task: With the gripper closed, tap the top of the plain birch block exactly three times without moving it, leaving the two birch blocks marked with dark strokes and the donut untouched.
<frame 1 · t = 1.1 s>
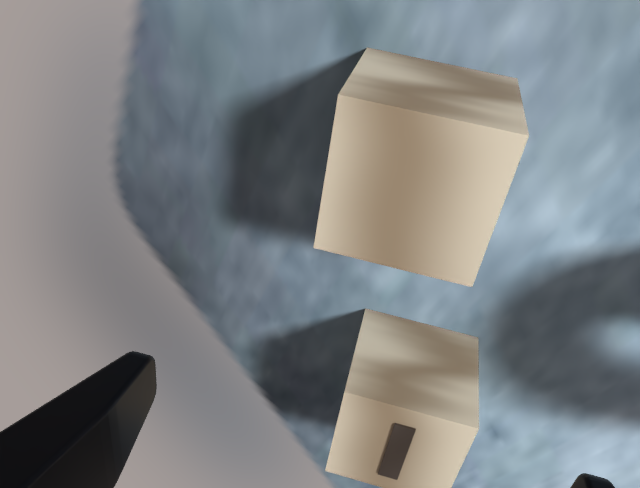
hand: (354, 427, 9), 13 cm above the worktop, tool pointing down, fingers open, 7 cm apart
one stroke block: (408, 361, 26), on the worktop
plain block: (423, 132, 20), on the worktop
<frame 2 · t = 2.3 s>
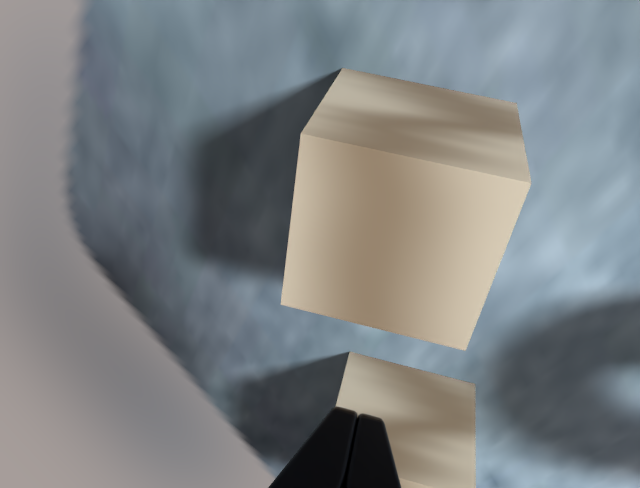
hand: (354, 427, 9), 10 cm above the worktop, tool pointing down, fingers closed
one stroke block: (398, 407, 24), on the worktop
plain block: (409, 162, 18), on the worktop
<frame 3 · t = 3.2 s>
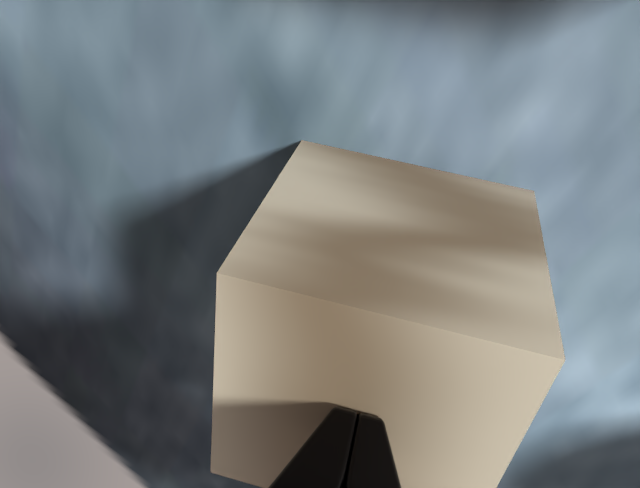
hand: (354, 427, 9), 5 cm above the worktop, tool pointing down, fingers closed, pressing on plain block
plain block: (391, 258, 13), on the worktop, touching gripper
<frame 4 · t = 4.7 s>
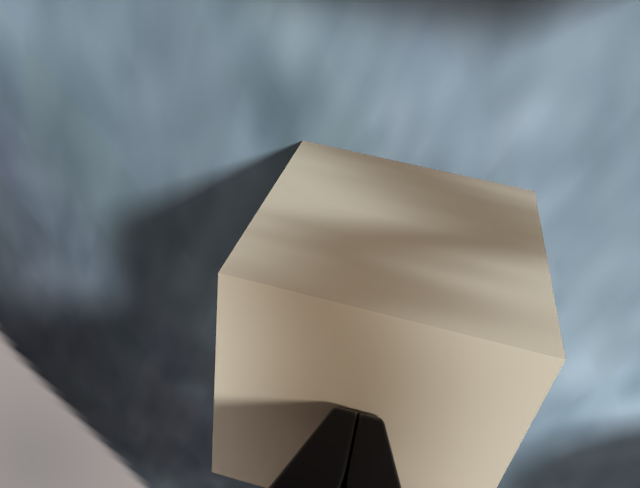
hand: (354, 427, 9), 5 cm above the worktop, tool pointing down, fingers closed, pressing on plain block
plain block: (392, 258, 13), on the worktop, touching gripper
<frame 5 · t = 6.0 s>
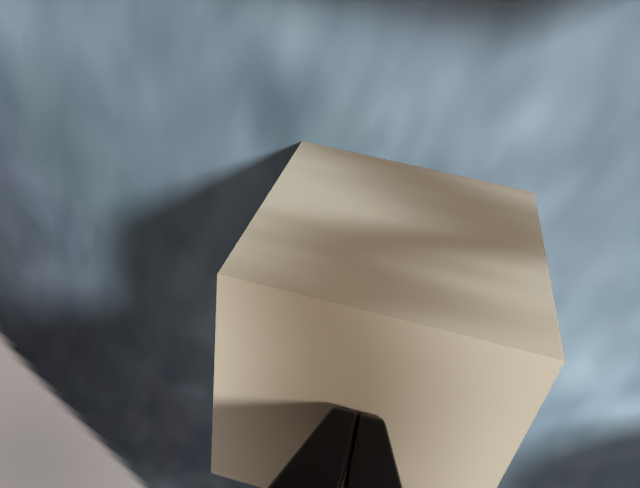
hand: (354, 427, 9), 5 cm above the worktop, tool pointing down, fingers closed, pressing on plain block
plain block: (391, 259, 13), on the worktop, touching gripper
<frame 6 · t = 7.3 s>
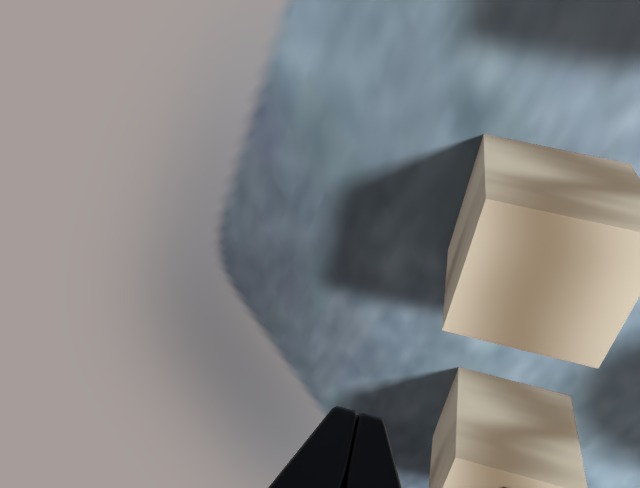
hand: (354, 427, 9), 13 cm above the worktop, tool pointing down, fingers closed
one stroke block: (497, 415, 27), on the worktop
plain block: (531, 209, 21), on the worktop
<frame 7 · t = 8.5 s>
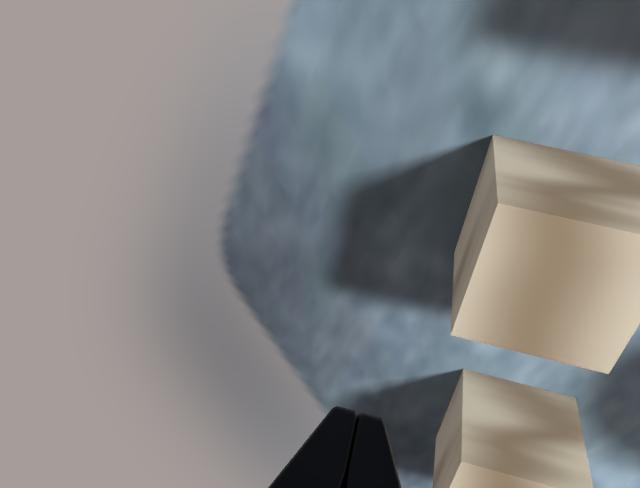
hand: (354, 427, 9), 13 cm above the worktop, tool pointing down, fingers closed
one stroke block: (501, 417, 27), on the worktop
plain block: (540, 211, 21), on the worktop
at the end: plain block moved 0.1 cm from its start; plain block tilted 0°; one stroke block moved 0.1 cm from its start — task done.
